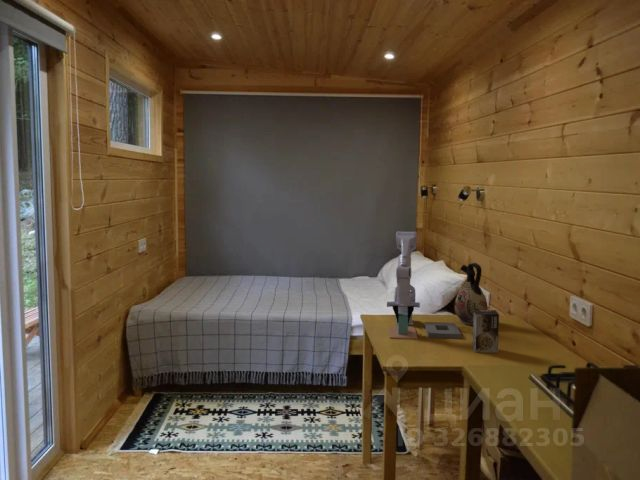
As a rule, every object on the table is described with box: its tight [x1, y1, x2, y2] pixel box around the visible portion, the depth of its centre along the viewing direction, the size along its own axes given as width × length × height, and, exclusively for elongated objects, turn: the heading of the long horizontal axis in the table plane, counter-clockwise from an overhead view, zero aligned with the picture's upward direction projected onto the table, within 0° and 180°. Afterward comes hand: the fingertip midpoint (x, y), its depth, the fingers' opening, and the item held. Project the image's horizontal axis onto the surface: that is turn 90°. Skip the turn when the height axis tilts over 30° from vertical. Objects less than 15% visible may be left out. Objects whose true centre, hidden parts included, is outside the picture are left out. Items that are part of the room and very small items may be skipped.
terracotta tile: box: [388, 326, 418, 340], centre depth 239 cm, size 16×12×1 cm
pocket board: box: [424, 321, 462, 339], centre depth 241 cm, size 18×14×2 cm
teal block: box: [397, 313, 409, 334], centre depth 238 cm, size 6×4×8 cm, turn 175°
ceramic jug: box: [454, 262, 489, 326], centre depth 254 cm, size 17×15×30 cm
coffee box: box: [472, 309, 500, 354], centre depth 215 cm, size 9×6×16 cm
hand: (402, 322), depth 238 cm, fingers closed on teal block, 4 cm apart
